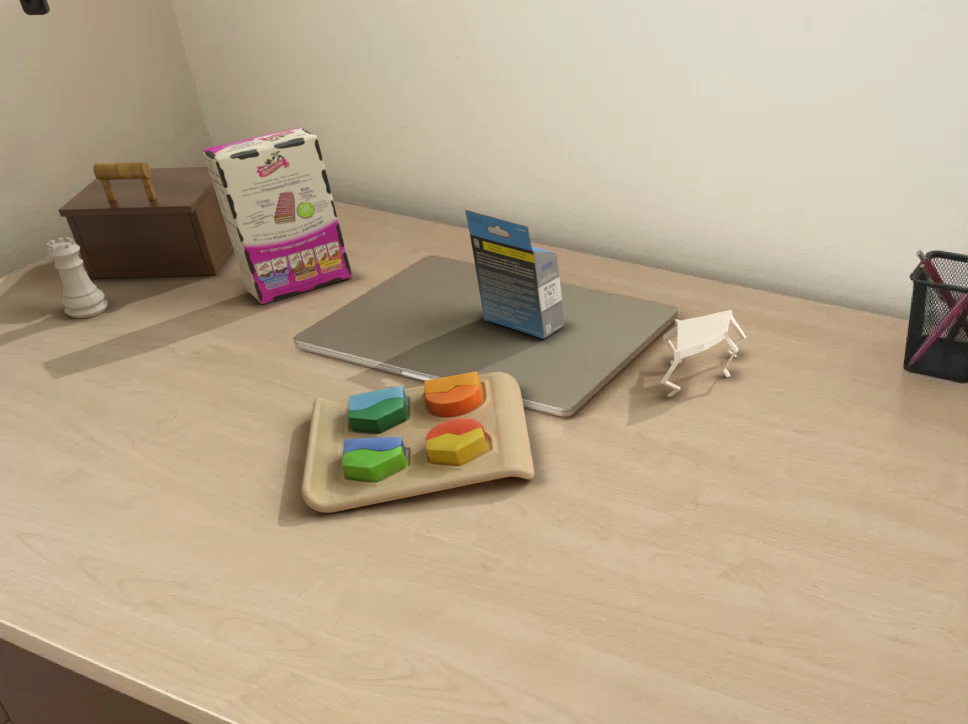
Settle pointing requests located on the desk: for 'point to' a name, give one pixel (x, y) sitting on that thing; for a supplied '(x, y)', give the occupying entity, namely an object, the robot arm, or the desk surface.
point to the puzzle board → (415, 441)
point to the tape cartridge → (515, 278)
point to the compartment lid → (140, 190)
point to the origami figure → (700, 339)
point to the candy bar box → (279, 213)
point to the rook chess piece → (75, 281)
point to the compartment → (154, 243)
